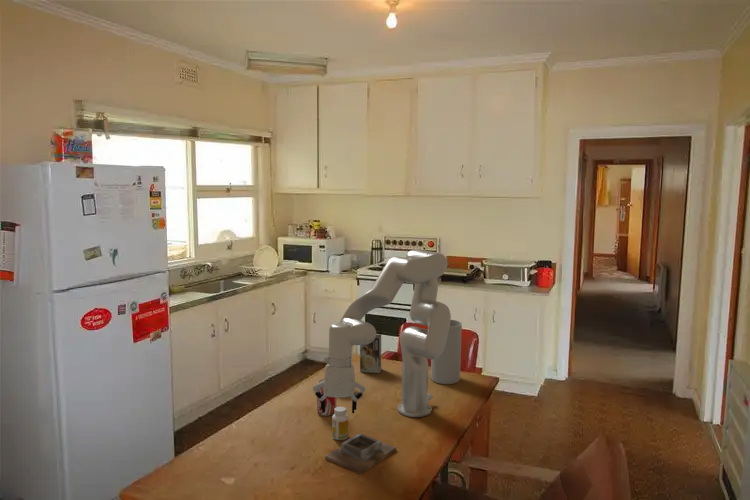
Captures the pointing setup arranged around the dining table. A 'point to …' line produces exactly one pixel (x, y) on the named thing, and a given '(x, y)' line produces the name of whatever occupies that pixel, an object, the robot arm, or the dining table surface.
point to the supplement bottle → (340, 424)
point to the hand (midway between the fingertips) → (338, 411)
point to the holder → (360, 453)
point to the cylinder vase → (449, 357)
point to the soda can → (326, 403)
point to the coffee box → (371, 356)
